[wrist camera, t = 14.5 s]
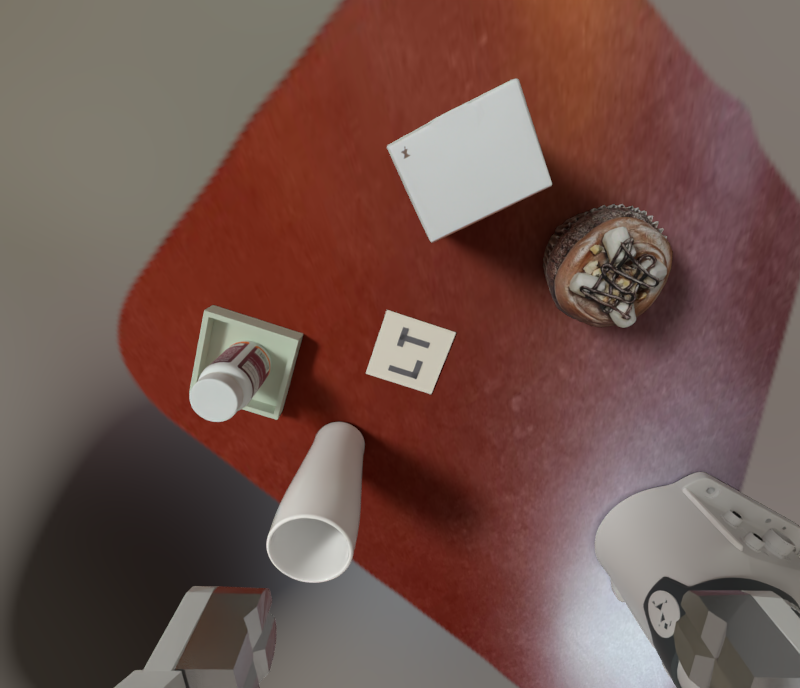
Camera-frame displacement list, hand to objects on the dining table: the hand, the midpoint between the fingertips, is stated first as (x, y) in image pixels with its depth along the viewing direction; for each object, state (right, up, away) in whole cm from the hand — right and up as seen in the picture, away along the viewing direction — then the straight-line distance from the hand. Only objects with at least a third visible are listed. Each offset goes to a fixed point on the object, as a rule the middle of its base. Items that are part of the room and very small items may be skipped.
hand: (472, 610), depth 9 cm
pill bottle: (-16, +4, +35) cm, 39 cm away
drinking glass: (-8, -5, +39) cm, 40 cm away
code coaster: (0, +4, +35) cm, 35 cm away
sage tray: (-17, +4, +36) cm, 39 cm away
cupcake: (+15, +13, +31) cm, 37 cm away
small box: (+3, +20, +29) cm, 36 cm away
